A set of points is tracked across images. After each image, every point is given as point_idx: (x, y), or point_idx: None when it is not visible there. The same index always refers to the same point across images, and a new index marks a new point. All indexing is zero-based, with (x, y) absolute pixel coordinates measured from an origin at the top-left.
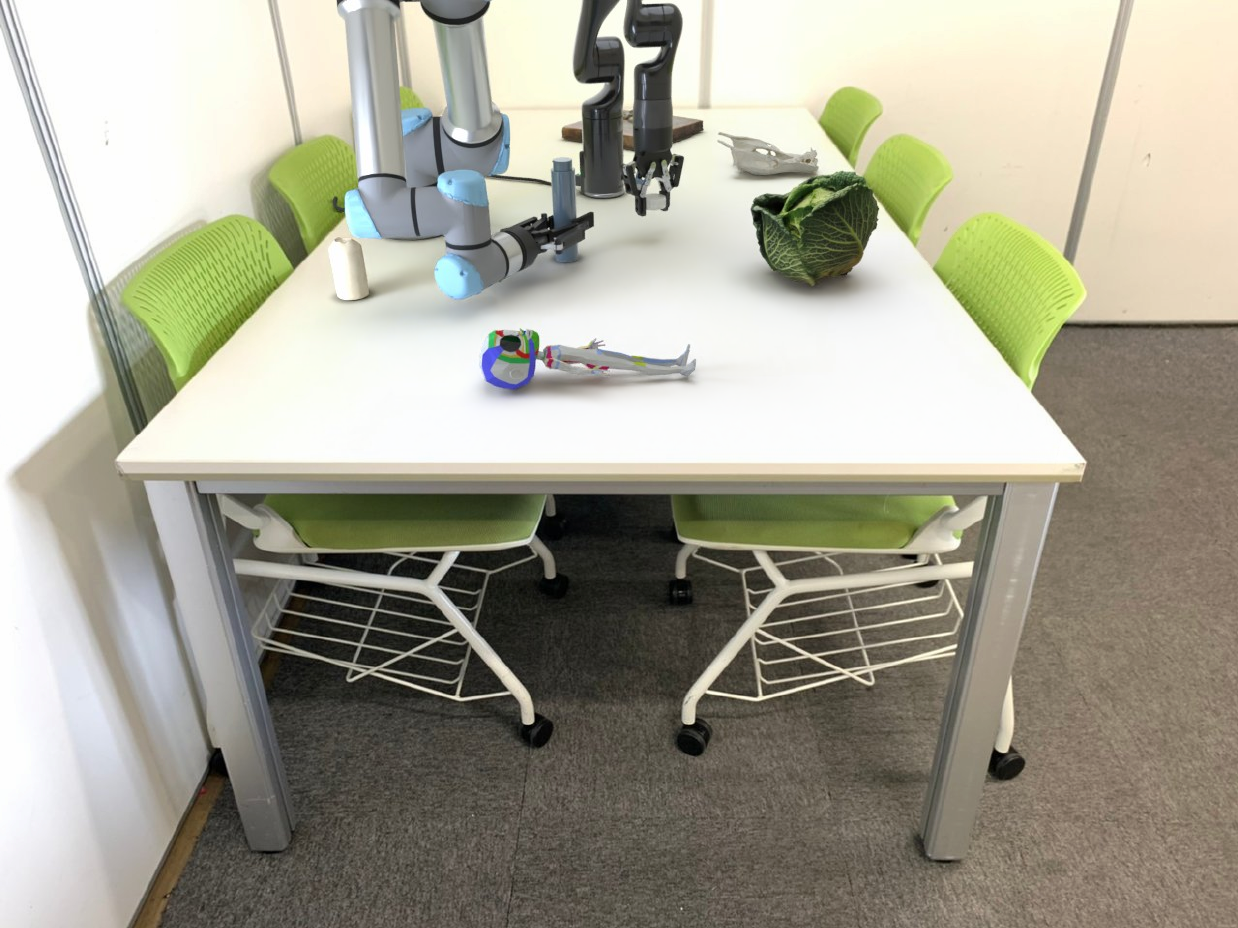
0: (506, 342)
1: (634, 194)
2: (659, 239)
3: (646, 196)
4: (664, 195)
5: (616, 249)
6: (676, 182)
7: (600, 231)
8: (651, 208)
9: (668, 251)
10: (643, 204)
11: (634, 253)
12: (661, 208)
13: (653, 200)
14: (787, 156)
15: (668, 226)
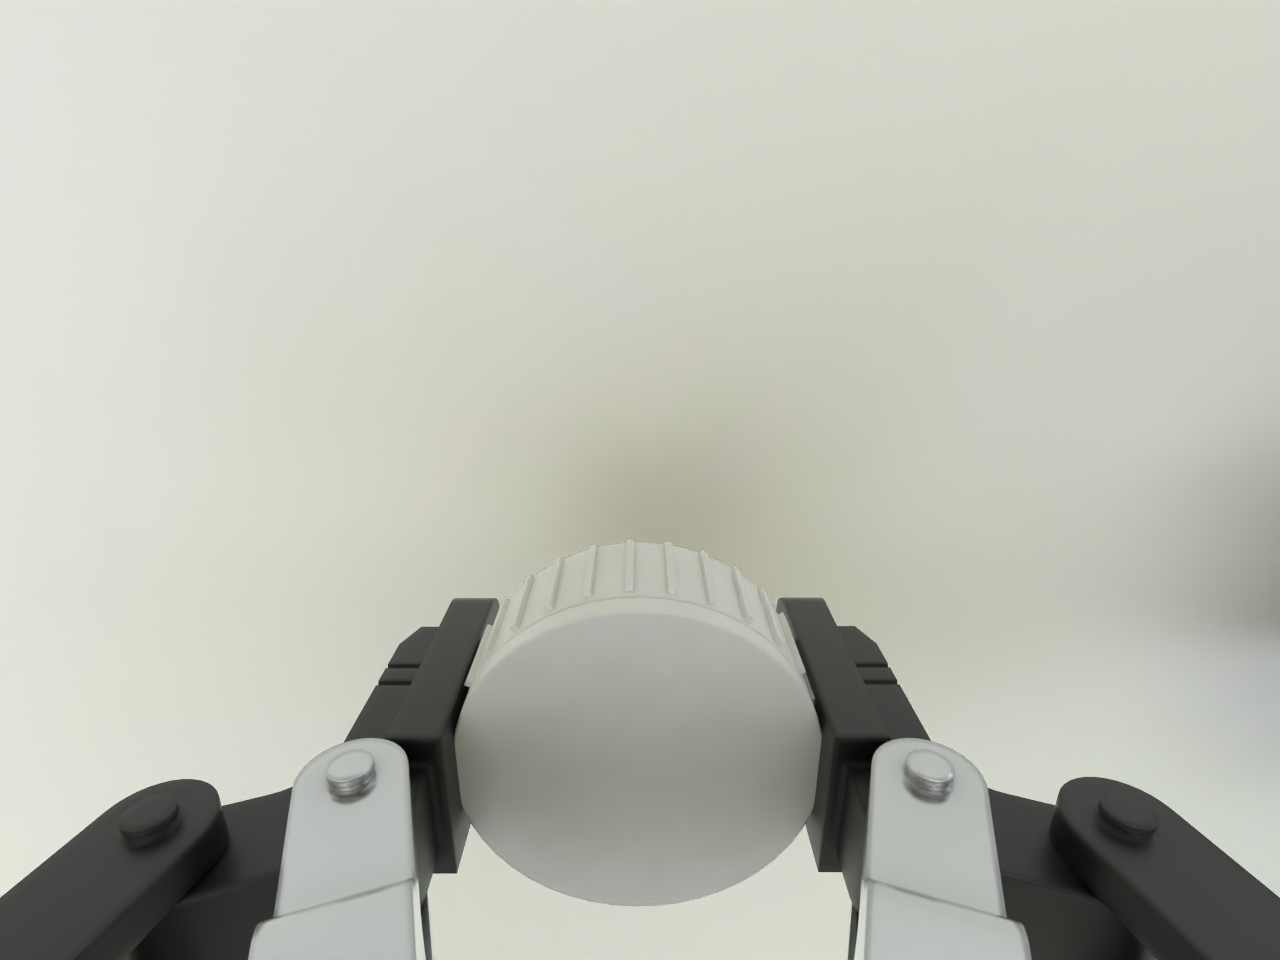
0: None
1: (1135, 802)
2: (578, 505)
3: (701, 830)
4: (457, 734)
5: (990, 516)
6: (130, 854)
7: (804, 853)
8: (755, 594)
9: (707, 212)
10: (857, 677)
11: (958, 355)
12: (620, 548)
13: (749, 643)
14: None
15: (347, 692)
